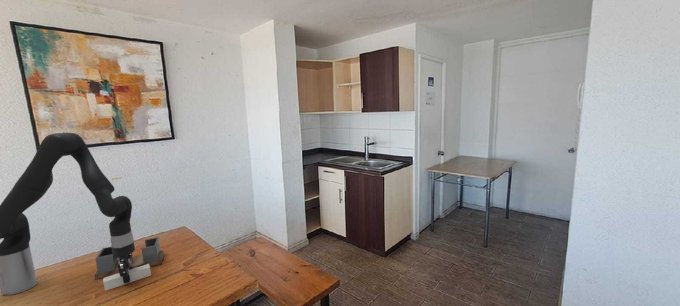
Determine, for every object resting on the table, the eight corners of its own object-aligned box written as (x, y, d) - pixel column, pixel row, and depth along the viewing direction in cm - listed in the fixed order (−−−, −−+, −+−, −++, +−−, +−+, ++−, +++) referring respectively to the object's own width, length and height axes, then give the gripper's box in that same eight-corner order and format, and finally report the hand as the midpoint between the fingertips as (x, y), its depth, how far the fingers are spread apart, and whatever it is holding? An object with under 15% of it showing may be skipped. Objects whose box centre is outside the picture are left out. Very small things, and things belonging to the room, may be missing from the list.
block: (104, 291, 114) (103, 282, 113) (104, 286, 117) (103, 277, 116) (151, 275, 124) (150, 267, 123) (150, 271, 127) (148, 263, 126)
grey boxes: (98, 274, 122) (95, 258, 121) (104, 262, 131) (102, 248, 130) (158, 260, 132) (156, 245, 131) (160, 250, 141) (158, 237, 140)
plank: (95, 279, 121) (94, 275, 121) (102, 267, 131) (101, 263, 131) (161, 263, 133) (161, 259, 132) (163, 253, 142) (163, 249, 142)
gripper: (115, 238, 122) (121, 273, 125) (106, 252, 109) (113, 291, 112) (136, 234, 125) (141, 268, 128) (129, 247, 113) (135, 285, 115)
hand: (128, 278), depth 120 cm, fingers open, 5 cm apart
